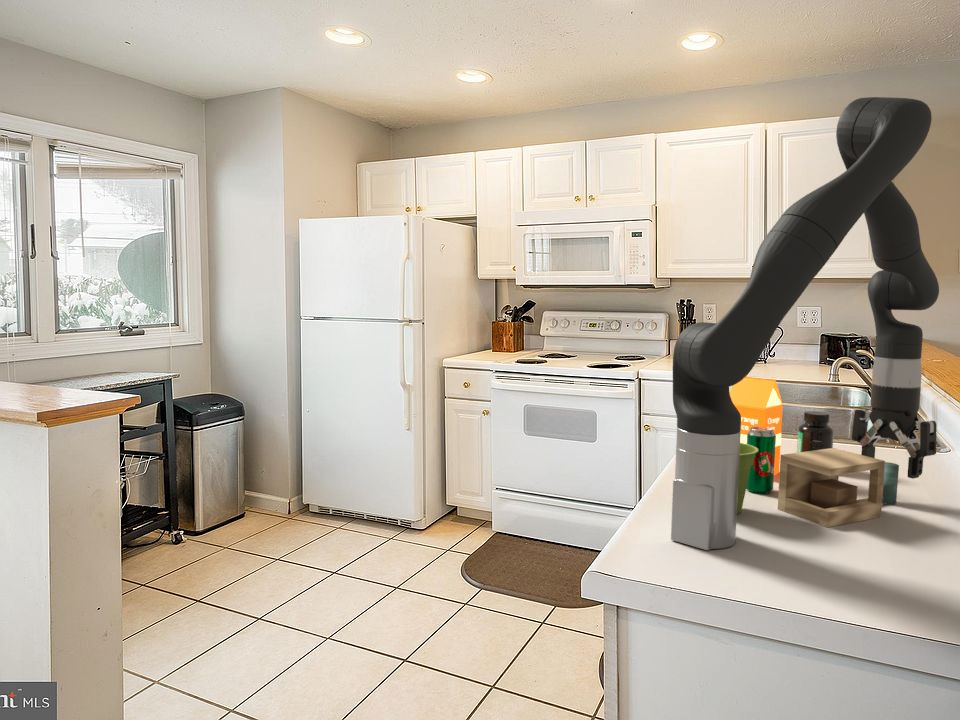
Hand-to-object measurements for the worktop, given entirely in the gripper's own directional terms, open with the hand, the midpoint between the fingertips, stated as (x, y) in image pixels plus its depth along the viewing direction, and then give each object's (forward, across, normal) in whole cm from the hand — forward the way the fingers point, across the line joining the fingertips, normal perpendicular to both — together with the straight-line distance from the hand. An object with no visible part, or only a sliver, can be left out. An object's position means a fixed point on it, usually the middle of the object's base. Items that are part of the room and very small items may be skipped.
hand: (890, 471), depth 124 cm
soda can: (+6, +15, +16) cm, 23 cm away
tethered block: (+6, 0, +8) cm, 10 cm away
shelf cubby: (+6, 0, +15) cm, 16 cm away
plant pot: (+6, +9, +31) cm, 33 cm away
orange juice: (+6, +25, +7) cm, 27 cm away
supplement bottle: (+6, +22, -8) cm, 24 cm away
